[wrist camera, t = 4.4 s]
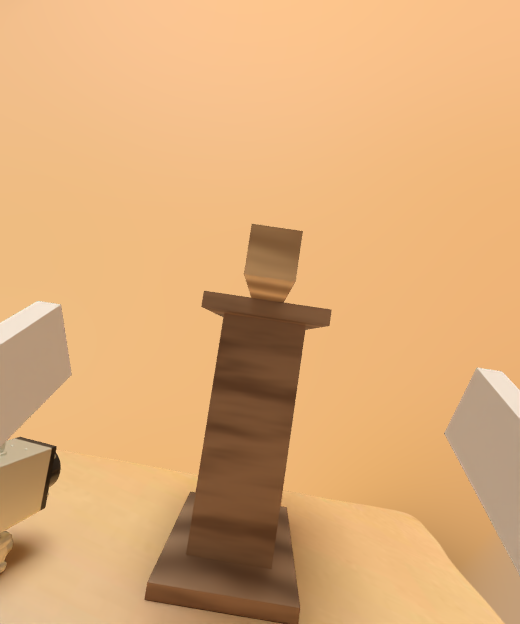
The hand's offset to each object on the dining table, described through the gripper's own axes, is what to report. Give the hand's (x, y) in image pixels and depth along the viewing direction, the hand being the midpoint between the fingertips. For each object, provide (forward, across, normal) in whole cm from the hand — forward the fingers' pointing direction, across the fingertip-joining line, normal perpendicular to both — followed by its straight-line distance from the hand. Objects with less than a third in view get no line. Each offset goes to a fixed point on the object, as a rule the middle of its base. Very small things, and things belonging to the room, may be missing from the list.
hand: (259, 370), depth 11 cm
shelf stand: (+14, 0, -36) cm, 39 cm away
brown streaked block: (+22, 0, -8) cm, 24 cm away
